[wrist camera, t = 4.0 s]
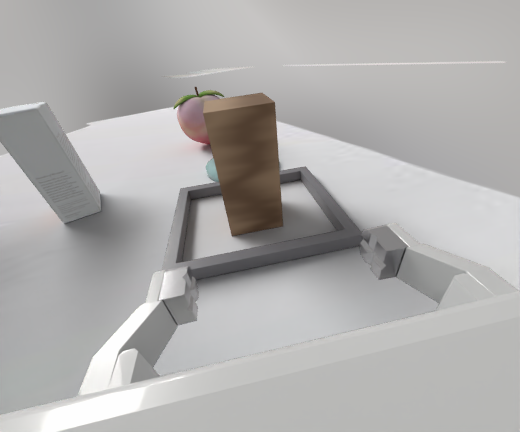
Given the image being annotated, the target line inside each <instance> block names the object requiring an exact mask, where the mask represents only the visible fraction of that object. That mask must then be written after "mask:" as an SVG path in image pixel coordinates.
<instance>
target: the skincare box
mask: <svg viewBox="0 0 520 432" xmlns="http://www.w3.org/2000/svg"><path fill="white" fill-rule="evenodd" d="M0 142H1V143H2V144H3V145H4V147H5V148H6V149H7V151H8V152H9V153H10V155H11V156H12V157H13V159H14V160H15V161H16V162H17V164H18V165H19V166H20V168H21V169H22V170H23V172H24V173H25V174H26V176H27V177H28V178H29V179H30V181H31V182H32V183H33V185H34V186H35V187H36V188H37V190H38V191H39V192H40V194H41V195H42V196H43V197H44V199H45V200H46V201H47V203H48V204H49V205H50V206H51V208H52V209H53V210H54V212H55V213H56V214H57V215H58V217H59V218H60V219H61V221H62V222H63V223H68V222H71V221H74V220H77V219H80V218H82V217H85V216H88V215H91V214H94V213H97V212H100V211H101V199H100V191H99V189H98V188H97V186H96V184H95V183H94V181H93V179H92V178H91V176H90V174H89V173H88V171H87V169H86V168H85V166H84V164H83V163H82V161H81V159H80V158H79V156H78V154H77V153H76V151H75V149H74V148H73V146H72V144H71V142H70V141H69V139H68V137H67V136H66V134H65V133H64V131H63V129H62V127H61V126H60V124H59V122H58V121H57V119H56V117H55V115H54V114H53V112H52V111H51V109H50V107H49V106H48V104H47V103H46V102H40V103H34V104H27V105H21V106H14V107H9V108H4V109H0Z"/></svg>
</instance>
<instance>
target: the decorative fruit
mask: <svg viewBox="0 0 520 432" xmlns="http://www.w3.org/2000/svg"><path fill="white" fill-rule="evenodd" d="M195 90H196V94H197V95H187V96H183V97H181V98H180V99H179V100H178V101H177V102H176V104H175V106H174V109H175V108H176V107H177V106H178V105H179V107H178V111H177V117H178V121H179V124H180V126H181V128H182V130H183V131H184V133H185V134H186V135H187V136H188V137H189V138H191V139H192V140H194V141H197V142H201V143H205V144H210V141H209V137H208V133H207V128H206V124H205V120H204V116H203V109H204V102H205V101H210V100H217V99H219V98H218V97H217V96H215V95H213V94H216V95H220V96H223V95H222V94H221V93H219V92H217V91H212V90H208V91H203V92H201V93H200V94H198V91H197V87H195ZM223 97H224V96H223Z"/></svg>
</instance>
